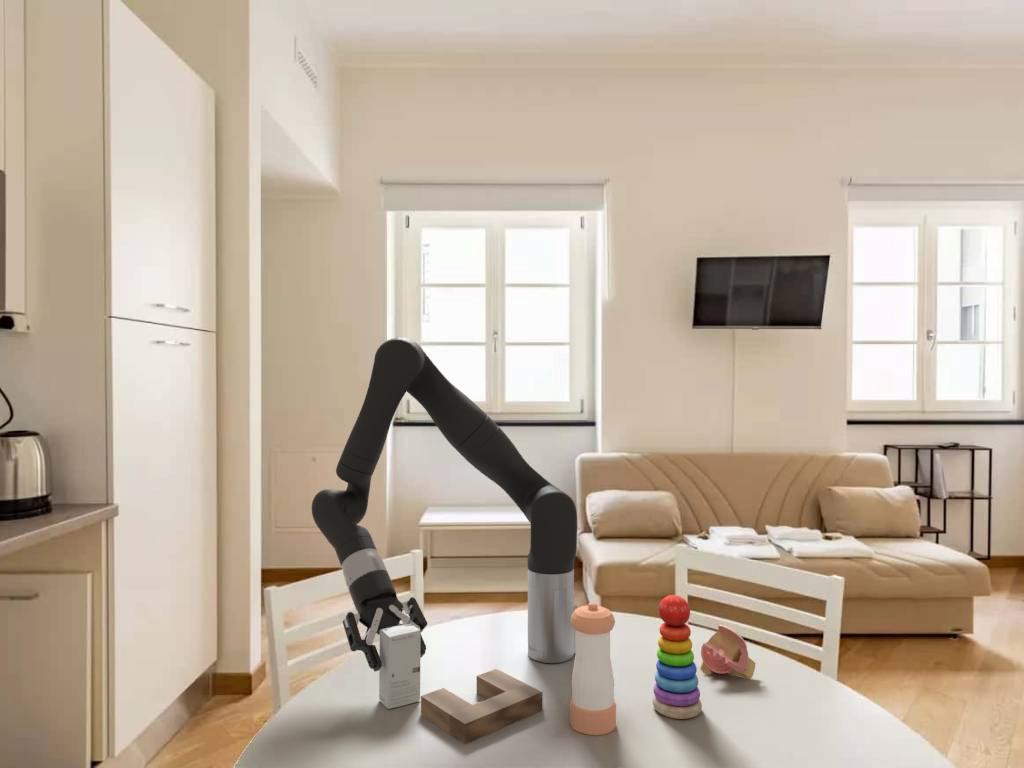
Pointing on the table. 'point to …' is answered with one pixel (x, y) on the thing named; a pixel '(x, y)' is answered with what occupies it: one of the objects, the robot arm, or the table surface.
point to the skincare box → (399, 666)
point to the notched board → (482, 706)
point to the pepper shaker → (592, 672)
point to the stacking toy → (676, 663)
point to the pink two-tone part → (727, 654)
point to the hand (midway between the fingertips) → (400, 662)
